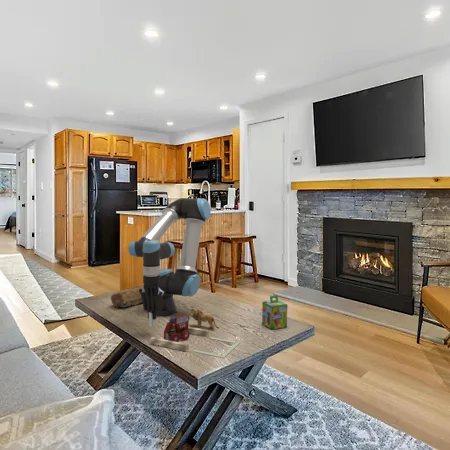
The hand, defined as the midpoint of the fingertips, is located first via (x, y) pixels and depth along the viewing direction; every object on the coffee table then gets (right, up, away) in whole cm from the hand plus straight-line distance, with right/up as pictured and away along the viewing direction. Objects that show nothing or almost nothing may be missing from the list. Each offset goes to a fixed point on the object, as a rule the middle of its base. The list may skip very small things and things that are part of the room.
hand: (152, 325), depth 164 cm
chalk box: (+58, -4, +12) cm, 59 cm away
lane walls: (+14, -4, -6) cm, 16 cm away
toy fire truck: (+12, -5, -5) cm, 14 cm away
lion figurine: (+23, -4, +9) cm, 25 cm away
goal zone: (+29, -5, -13) cm, 32 cm away
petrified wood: (-23, -1, +46) cm, 52 cm away
